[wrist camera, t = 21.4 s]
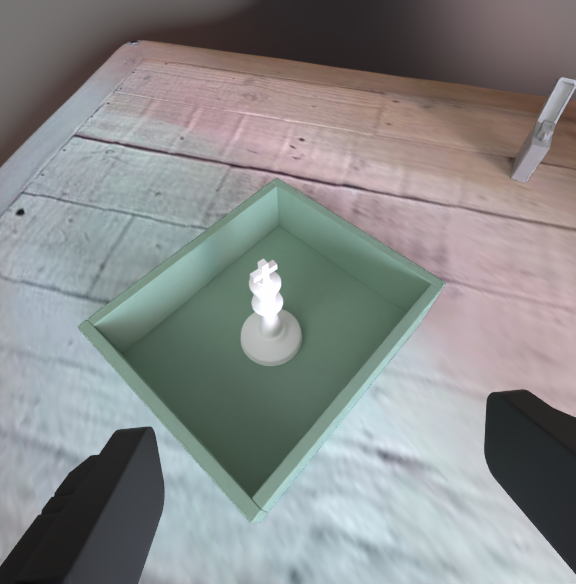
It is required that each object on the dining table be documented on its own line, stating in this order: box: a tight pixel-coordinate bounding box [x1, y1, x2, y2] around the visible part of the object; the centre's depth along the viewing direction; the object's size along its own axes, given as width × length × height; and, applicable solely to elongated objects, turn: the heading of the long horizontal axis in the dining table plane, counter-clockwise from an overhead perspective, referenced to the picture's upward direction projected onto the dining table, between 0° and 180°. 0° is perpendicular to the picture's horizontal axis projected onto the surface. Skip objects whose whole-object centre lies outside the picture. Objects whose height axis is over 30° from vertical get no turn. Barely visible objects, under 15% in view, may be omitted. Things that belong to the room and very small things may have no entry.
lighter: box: [510, 77, 576, 183], centre depth 38 cm, size 7×2×8 cm, turn 153°
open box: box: [78, 178, 446, 523], centre depth 28 cm, size 20×17×6 cm
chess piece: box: [241, 259, 302, 366], centre depth 25 cm, size 5×5×10 cm
